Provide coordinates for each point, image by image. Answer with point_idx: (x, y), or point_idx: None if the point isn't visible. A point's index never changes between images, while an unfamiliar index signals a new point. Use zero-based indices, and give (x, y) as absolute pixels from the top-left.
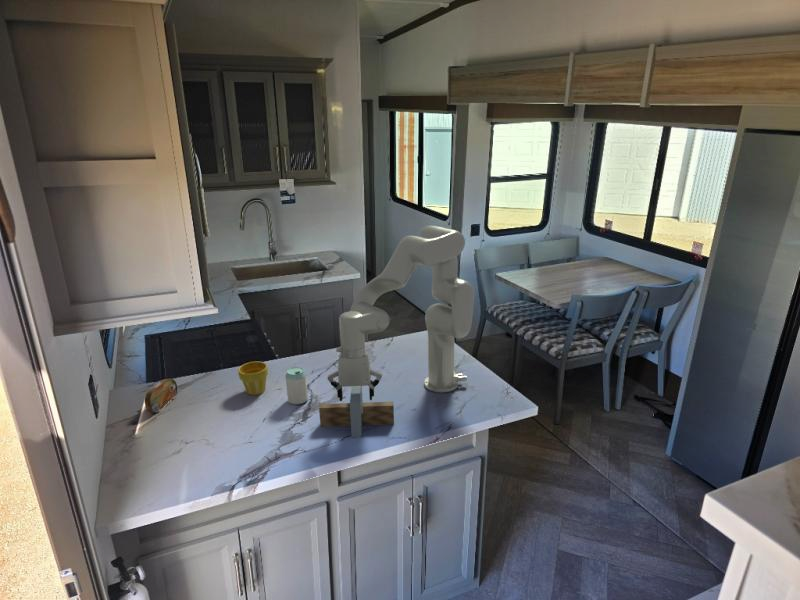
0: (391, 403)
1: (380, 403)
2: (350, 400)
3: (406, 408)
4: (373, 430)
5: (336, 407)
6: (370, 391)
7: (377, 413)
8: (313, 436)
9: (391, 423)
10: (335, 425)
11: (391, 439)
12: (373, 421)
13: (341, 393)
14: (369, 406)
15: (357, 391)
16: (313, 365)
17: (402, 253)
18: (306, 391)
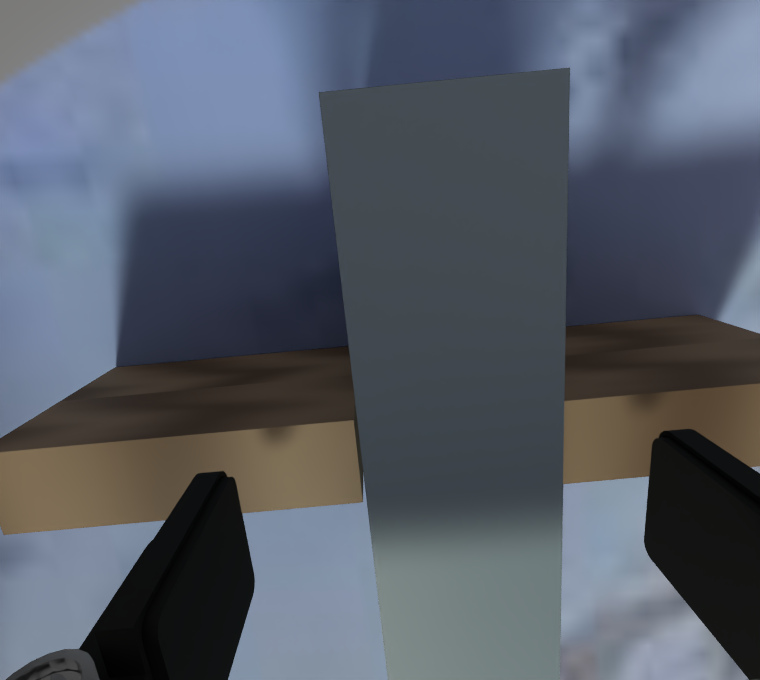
0: (12, 495)
1: (147, 492)
2: (558, 258)
3: (70, 567)
4: (266, 276)
5: (670, 392)
6: (140, 588)
7: (208, 395)
8: (755, 175)
9: (131, 367)
10: (584, 326)
11: (85, 145)
12: (271, 362)
13: (756, 522)
14: (268, 428)
15: (436, 604)
16: None
17: None
18: None
